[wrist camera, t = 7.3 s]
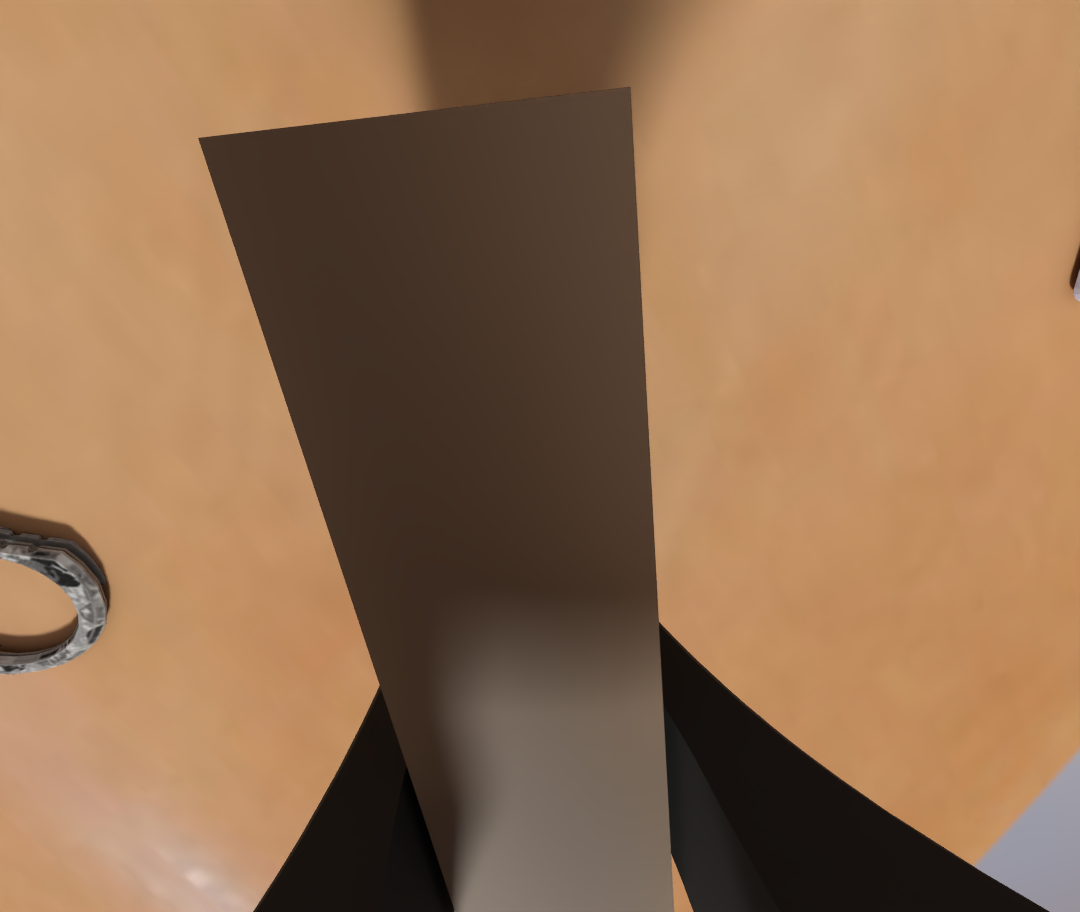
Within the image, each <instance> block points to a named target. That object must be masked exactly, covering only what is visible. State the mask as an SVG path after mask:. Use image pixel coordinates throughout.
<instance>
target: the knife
mask: <svg viewBox="0 0 1080 912" xmlns="http://www.w3.org/2000/svg"><path fill="white" fill-rule="evenodd" d="M0 559H4V560H7V561H11V562H15V563H18V564H22V565H24V566H26V567H28V568H31V569H33V570H35V571H37V572H39V573H41V574H43V575H45V576H46V577H48V578H49V579H50V580H52V581H53V582H55V583H56V584H57V585H59V586H60V587H61V588H62V589H63V590H64V591H65V593H66V594H67V595H68V596H69V597H70V598H71V599H72V601H73V603H74V606H75V608H76V610H77V612H78V624H77V626H76V628H75V631H74V633H73V634H72V635H71V636H70V637H69V638H68V639H67V640H66V641H64V642H63V643H61V644H59V645H57V646H55V647H52V648H48V649H45V650H41V651H36V652H25V653H11V652H0V674H18V673H26V672H35V671H42V670H45V669H49V668H52V667H55V666H59V665H62V664H65V663H67V662H69V661H71V660H72V659H74V658H76V657H78V656H79V655H81V654H83V653H85V652H86V651H87V650H88V649H89V648H90V647H91V646H92V645H93V644H94V643H95V642H96V641H97V640H98V638H99V636H100V634H101V632H102V630H103V629H104V627H105V625H106V619H107V600H106V598H105V595H104V592H103V590H102V587H101V585H103V584H105V583H106V579H105V576H104V573H103V572H102V571H101V569H100V568H99V567H98V565H97V564H96V563H95V561H94V560H93V559H92V557H91V556H90V555H89V554H88V553H87V552H86V551H85V550H83V549H82V548H81V547H80V546H79V545H78V544H76V543H75V542H74V541H71V540H66V539H61V538H55V537H49V539H43V538H42V537H41V536H40V535H34V534H27V533H22V534H21V535H14V533H13V531H10V529H8V528H3V527H0ZM0 646H2V645H0Z"/></svg>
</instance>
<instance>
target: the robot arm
mask: <svg viewBox="0 0 1080 912" xmlns="http://www.w3.org/2000/svg"><path fill="white" fill-rule="evenodd" d="M1074 296H1075V299H1077V300H1078V301H1080V270H1079V273H1078V277H1077V280H1076V283H1075V287H1074ZM659 637H660V656H661V674H662V693H663V712H664V731H665V750H666V769H667V788H668V806H669V825H670V844H671V854H672V857H673V859H674V862H675V864H676V867H677V869H678V871H679V874H680V876H681V879H682V882H683V884H684V887H685V890H686V892H687V895H688V898H689V901H690V903H691V906H692V909H693V911H694V912H1049V911H1048V910H1046V909H1044V908H1042V907H1041V906H1039V905H1037V904H1036V903H1034V902H1032V901H1031V900H1029V899H1027V898H1025V897H1024V896H1022V895H1020V894H1019V893H1016V892H1015V891H1013V890H1012V889H1010V888H1008V887H1007V886H1005V885H1003V884H1002V883H1000V882H998V881H997V880H995V879H993V878H991V877H990V876H988V875H986V874H985V873H983V872H981V871H980V870H978V869H977V868H975V867H974V866H972V865H970V864H969V863H967V862H966V861H964V860H963V859H961V858H959V857H958V856H956V855H955V854H953V853H952V852H950V851H948V850H947V849H945V848H944V847H942V846H941V845H939V844H937V843H936V842H934V841H933V840H931V839H930V838H928V837H926V836H925V835H923V834H922V833H920V832H919V831H917V830H915V829H914V828H912V827H911V826H909V825H908V824H906V823H904V822H903V821H901V820H900V819H898V818H897V817H895V816H893V815H892V814H890V813H889V812H887V811H886V810H884V809H883V808H881V807H880V806H879V805H877V804H876V803H874V802H873V801H871V800H870V799H869V798H867V797H866V796H864V795H863V794H861V793H860V792H858V791H857V790H856V789H854V788H853V787H851V786H850V785H848V784H847V783H846V782H844V781H843V780H841V779H840V778H839V777H837V776H836V775H834V774H833V773H832V772H830V771H829V770H828V769H826V768H825V767H824V766H822V765H821V764H820V763H818V762H817V761H816V760H814V759H813V758H812V757H810V756H809V755H807V754H806V753H805V752H804V751H802V750H801V749H800V748H798V747H797V746H796V745H795V744H793V743H792V742H791V741H789V740H788V739H787V738H786V737H784V736H783V735H782V734H781V733H779V732H778V731H777V730H776V729H774V728H773V727H772V726H771V725H770V724H768V723H767V722H766V721H765V720H764V719H762V718H761V717H760V716H759V715H758V714H756V713H755V712H754V711H753V710H752V709H750V708H749V707H748V706H747V705H746V704H745V703H743V702H742V701H741V700H740V699H739V698H738V697H737V696H735V695H734V694H733V693H732V692H731V691H730V690H729V689H728V688H726V687H725V686H724V685H723V684H722V683H721V682H720V681H719V680H718V679H717V678H716V677H715V676H713V675H712V674H711V673H710V672H709V671H708V670H707V669H706V668H705V667H704V666H703V665H702V664H700V663H699V662H698V661H697V660H696V659H695V658H694V657H693V656H692V655H691V654H690V653H689V652H688V651H687V650H686V649H685V648H684V647H683V646H682V645H681V644H680V643H679V642H678V641H677V640H676V639H675V638H674V637H673V636H672V635H671V634H670V633H669V632H668V631H667V630H666V629H665V628H664V627H663V626H662V624H661V623H660V622H659ZM253 912H454V907H453V904H452V901H451V898H450V895H449V892H448V889H447V886H446V883H445V880H444V877H443V874H442V871H441V868H440V865H439V862H438V859H437V856H436V853H435V850H434V847H433V844H432V841H431V838H430V835H429V832H428V829H427V826H426V823H425V820H424V816H423V813H422V810H421V807H420V804H419V801H418V798H417V795H416V792H415V789H414V786H413V783H412V780H411V777H410V774H409V771H408V768H407V765H406V762H405V759H404V756H403V753H402V750H401V747H400V744H399V741H398V738H397V735H396V732H395V729H394V726H393V723H392V720H391V717H390V714H389V711H388V708H387V705H386V702H385V699H384V696H383V693H382V690H381V687H380V686H379V688H378V690H377V693H376V695H375V697H374V699H373V701H372V703H371V705H370V708H369V710H368V712H367V714H366V716H365V718H364V720H363V722H362V724H361V726H360V728H359V730H358V732H357V734H356V736H355V738H354V740H353V742H352V744H351V746H350V748H349V750H348V752H347V754H346V756H345V758H344V760H343V762H342V764H341V766H340V767H339V769H338V771H337V773H336V775H335V777H334V779H333V780H332V782H331V784H330V786H329V787H328V789H327V791H326V793H325V795H324V796H323V798H322V800H321V802H320V803H319V805H318V807H317V809H316V810H315V812H314V814H313V816H312V817H311V819H310V821H309V823H308V825H307V826H306V828H305V830H304V832H303V833H302V835H301V837H300V838H299V840H298V842H297V843H296V845H295V847H294V848H293V850H292V852H291V853H290V855H289V856H288V858H287V860H286V861H285V863H284V865H283V866H282V868H281V869H280V871H279V873H278V874H277V876H276V877H275V879H274V881H273V882H272V884H271V885H270V887H269V888H268V890H267V891H266V893H265V894H264V896H263V898H262V899H261V901H260V902H259V904H258V905H257V907H256V908H255V910H254V911H253Z"/></svg>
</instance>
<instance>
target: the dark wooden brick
mask: <svg viewBox="0 0 1080 912" xmlns="http://www.w3.org/2000/svg"><path fill="white" fill-rule="evenodd" d="M198 139H199V142H200V145H201V148H202V151H203V154H204V157H205V160H206V163H207V166H208V169H209V172H210V175H211V178H212V181H213V184H214V187H215V190H216V193H217V196H218V199H219V202H220V205H221V208H222V211H223V214H224V217H225V220H226V223H227V226H228V229H229V232H230V235H231V238H232V241H233V244H234V247H235V250H236V253H237V256H238V259H239V262H240V265H241V268H242V271H243V274H244V277H245V280H246V283H247V286H248V289H249V292H250V295H251V298H252V301H253V304H254V307H255V310H256V313H257V316H258V319H259V322H260V325H261V328H262V331H263V334H264V337H265V340H266V344H267V347H268V350H269V353H270V356H271V359H272V362H273V365H274V368H275V371H276V374H277V377H278V380H279V383H280V386H281V389H282V392H283V395H284V398H285V401H286V404H287V407H288V410H289V413H290V416H291V419H292V422H293V425H294V428H295V431H296V434H297V437H298V440H299V443H300V446H301V449H302V452H303V455H304V458H305V461H306V464H307V467H308V470H309V473H310V476H311V479H312V482H313V485H314V488H315V491H316V494H317V497H318V500H319V503H320V506H321V509H322V512H323V515H324V518H325V521H326V524H327V527H328V530H329V533H330V536H331V539H332V542H333V545H334V548H335V551H336V554H337V557H338V560H339V563H340V566H341V569H342V572H343V575H344V578H345V582H346V585H347V588H348V591H349V594H350V597H351V600H352V603H353V606H354V609H355V612H356V615H357V618H358V621H359V624H360V627H361V630H362V633H363V636H364V639H365V642H366V645H367V648H368V651H369V654H370V657H371V660H372V663H373V666H374V669H375V672H376V675H377V678H378V681H379V684H380V687H381V690H382V693H383V696H384V699H385V702H386V705H387V708H388V711H389V714H390V717H391V720H392V723H393V726H394V729H395V732H396V735H397V738H398V741H399V744H400V747H401V750H402V753H403V756H404V759H405V762H406V765H407V768H408V771H409V774H410V777H411V780H412V783H413V786H414V789H415V792H416V795H417V798H418V801H419V804H420V807H421V810H422V813H423V816H424V820H425V823H426V826H427V829H428V832H429V835H430V838H431V841H432V844H433V847H434V850H435V853H436V856H437V859H438V862H439V865H440V868H441V871H442V874H443V877H444V880H445V883H446V886H447V889H448V892H449V895H450V898H451V901H452V904H453V907H454V910H455V912H674V901H673V882H672V863H671V844H670V825H669V806H668V788H667V769H666V750H665V731H664V712H663V693H662V674H661V656H660V637H659V618H658V599H657V580H656V561H655V543H654V524H653V505H652V486H651V467H650V448H649V429H648V411H647V392H646V373H645V354H644V335H643V316H642V298H641V279H640V260H639V241H638V222H637V203H636V184H635V166H634V147H633V128H632V109H631V90H630V87H625V88H617V89H608V90H600V91H591V92H583V93H575V94H566V95H558V96H549V97H541V98H532V99H524V100H515V101H507V102H499V103H490V104H482V105H473V106H465V107H456V108H448V109H439V110H431V111H422V112H414V113H406V114H397V115H389V116H380V117H372V118H363V119H355V120H346V121H338V122H330V123H321V124H313V125H304V126H296V127H287V128H279V129H270V130H262V131H254V132H245V133H237V134H228V135H220V136H211V137H203V138H198Z"/></svg>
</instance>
